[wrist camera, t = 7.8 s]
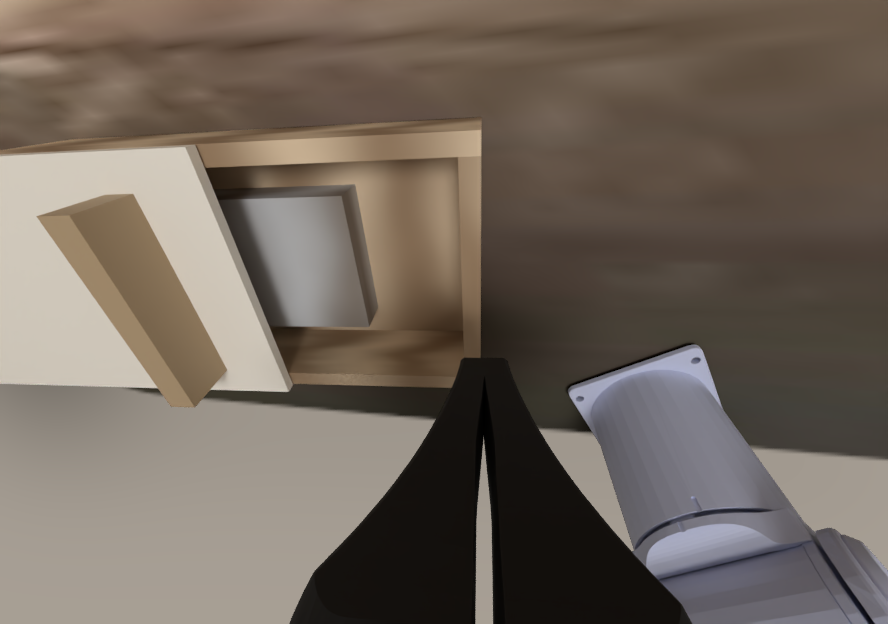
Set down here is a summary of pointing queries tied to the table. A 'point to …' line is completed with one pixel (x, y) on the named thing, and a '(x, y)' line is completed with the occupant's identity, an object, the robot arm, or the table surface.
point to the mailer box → (351, 241)
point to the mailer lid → (126, 277)
